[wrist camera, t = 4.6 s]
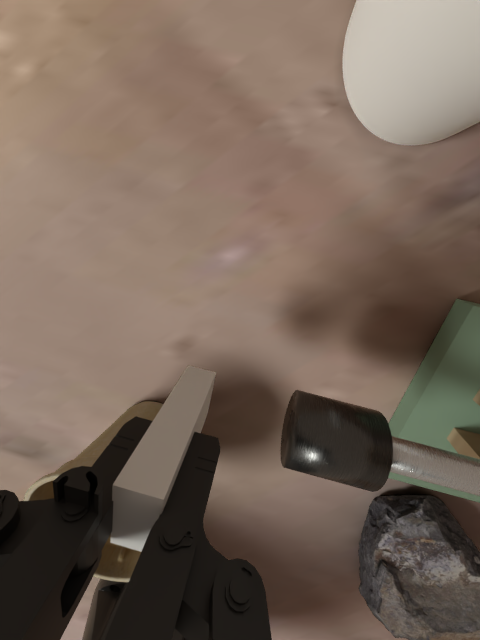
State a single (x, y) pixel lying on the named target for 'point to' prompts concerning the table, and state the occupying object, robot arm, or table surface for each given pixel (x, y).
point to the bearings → (466, 439)
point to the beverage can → (414, 68)
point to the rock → (419, 570)
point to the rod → (364, 448)
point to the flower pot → (114, 558)
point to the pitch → (444, 390)
